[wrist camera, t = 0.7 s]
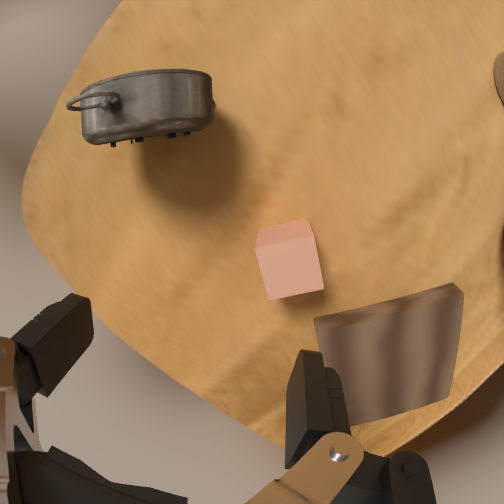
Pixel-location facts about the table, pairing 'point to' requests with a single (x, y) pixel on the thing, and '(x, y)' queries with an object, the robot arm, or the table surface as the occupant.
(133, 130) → the alarm clock
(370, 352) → the walnut base
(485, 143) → the table surface
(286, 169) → the table surface
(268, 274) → the pink block
